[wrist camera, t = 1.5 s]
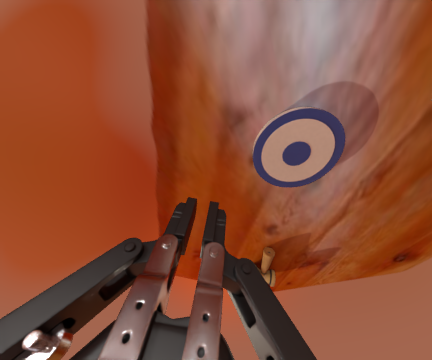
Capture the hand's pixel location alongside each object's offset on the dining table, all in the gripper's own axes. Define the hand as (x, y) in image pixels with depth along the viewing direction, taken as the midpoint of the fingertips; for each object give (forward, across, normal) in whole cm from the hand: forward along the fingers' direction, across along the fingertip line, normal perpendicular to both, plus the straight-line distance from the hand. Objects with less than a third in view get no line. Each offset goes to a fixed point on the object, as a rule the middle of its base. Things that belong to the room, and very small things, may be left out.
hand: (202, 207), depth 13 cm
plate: (+17, -13, 0) cm, 21 cm away
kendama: (+17, -19, +37) cm, 45 cm away
